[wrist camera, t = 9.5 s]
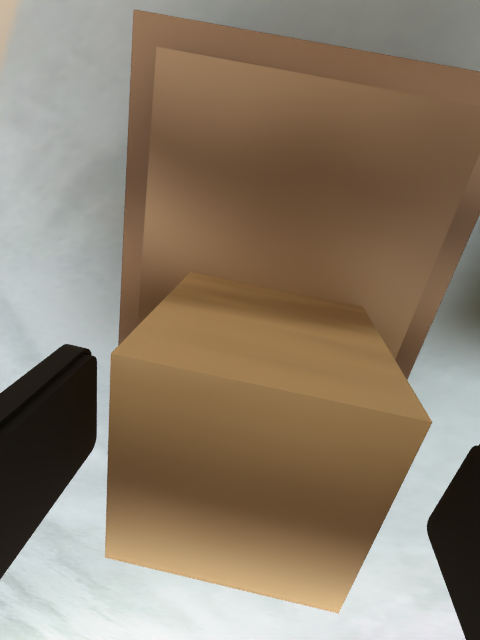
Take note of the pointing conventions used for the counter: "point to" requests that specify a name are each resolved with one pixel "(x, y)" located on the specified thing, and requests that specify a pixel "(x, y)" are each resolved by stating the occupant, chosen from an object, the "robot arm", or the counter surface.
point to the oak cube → (256, 440)
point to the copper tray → (297, 172)
